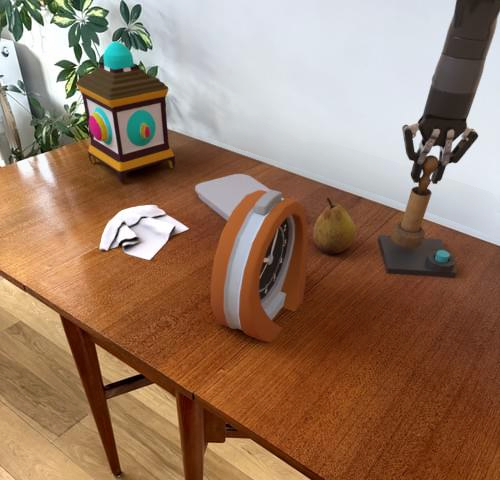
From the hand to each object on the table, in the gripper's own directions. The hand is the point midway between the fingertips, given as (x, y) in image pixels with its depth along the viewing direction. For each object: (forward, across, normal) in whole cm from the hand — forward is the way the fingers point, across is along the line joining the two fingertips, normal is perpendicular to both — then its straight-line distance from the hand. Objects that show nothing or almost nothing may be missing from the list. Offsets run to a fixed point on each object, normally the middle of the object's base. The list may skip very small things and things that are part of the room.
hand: (424, 181), depth 90 cm
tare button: (+14, +6, -5) cm, 16 cm away
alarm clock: (+17, -30, -22) cm, 41 cm away
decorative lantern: (+17, -69, +37) cm, 80 cm away
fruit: (+17, -16, +1) cm, 23 cm away
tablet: (+17, -36, +17) cm, 43 cm away
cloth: (+17, -59, +2) cm, 61 cm away
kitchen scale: (+17, +2, -1) cm, 17 cm away
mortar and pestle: (+13, 0, 0) cm, 13 cm away
